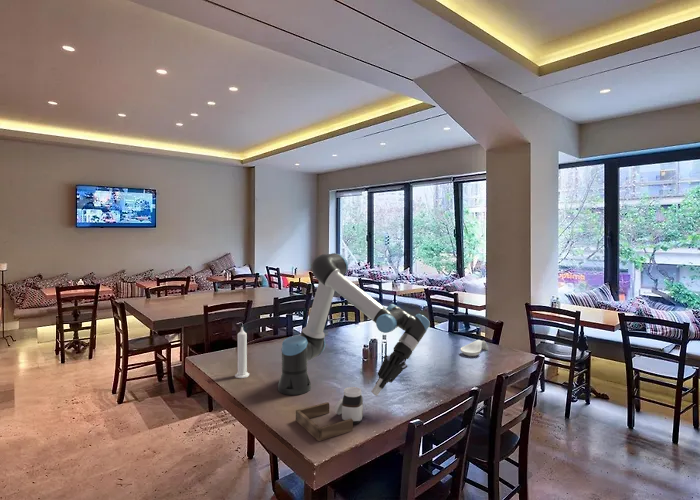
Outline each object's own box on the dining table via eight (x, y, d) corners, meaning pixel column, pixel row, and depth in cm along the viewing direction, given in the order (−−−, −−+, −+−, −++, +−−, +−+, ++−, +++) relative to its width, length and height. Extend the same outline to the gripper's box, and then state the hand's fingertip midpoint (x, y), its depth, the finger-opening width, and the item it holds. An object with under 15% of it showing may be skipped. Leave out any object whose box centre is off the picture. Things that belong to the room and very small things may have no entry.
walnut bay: (295, 420, 152) (295, 410, 152) (327, 411, 160) (327, 402, 160) (318, 441, 137) (318, 429, 136) (352, 430, 144) (352, 419, 144)
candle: (240, 379, 196) (239, 329, 195) (232, 375, 200) (232, 327, 200) (252, 375, 201) (252, 326, 200) (244, 372, 206) (244, 324, 205)
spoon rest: (474, 359, 231) (474, 347, 230) (456, 355, 239) (456, 343, 239) (493, 351, 247) (493, 340, 247) (475, 347, 255) (476, 336, 255)
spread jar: (359, 427, 147) (360, 396, 147) (330, 423, 149) (330, 393, 149) (365, 413, 159) (365, 384, 159) (337, 410, 161) (337, 382, 161)
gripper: (420, 355, 165) (389, 404, 156) (400, 348, 176) (369, 393, 167) (411, 344, 162) (378, 393, 153) (390, 338, 173) (359, 383, 164)
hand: (374, 393), depth 160 cm, fingers closed
